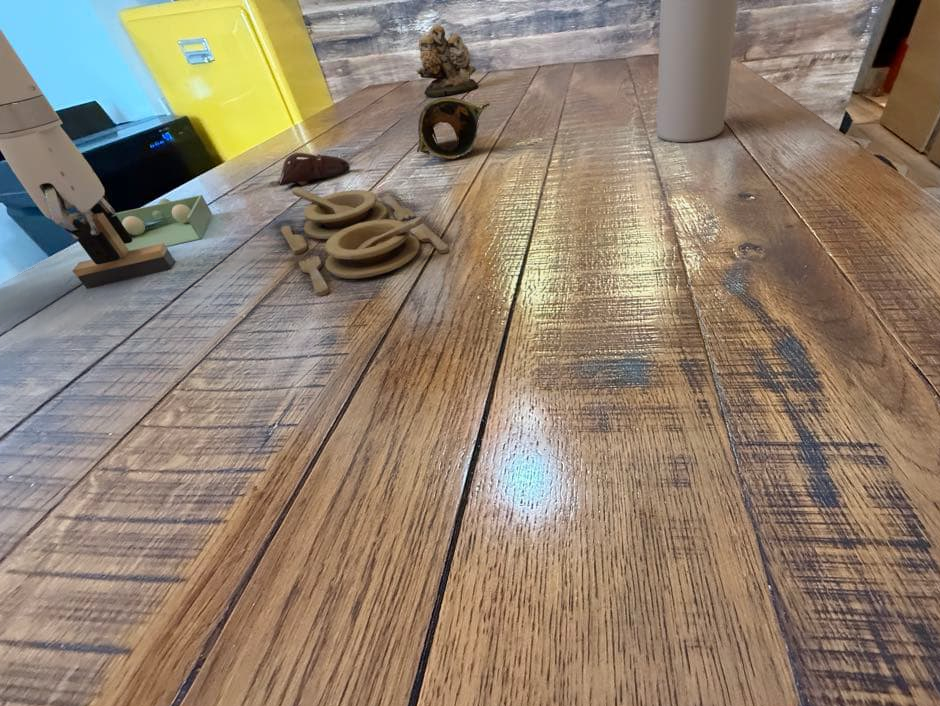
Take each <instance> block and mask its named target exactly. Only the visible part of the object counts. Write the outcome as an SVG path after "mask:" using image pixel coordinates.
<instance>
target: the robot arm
mask: <svg viewBox="0 0 940 706" xmlns="http://www.w3.org/2000/svg"><path fill="white" fill-rule="evenodd" d="M63 124H64V123H63V121H62V119H61V118H60V116H59V115H58V113H57V112H56V110H55V108H53V106H52V104H51V103H50V101H49V100H48V98H47V96H46V95H45V94H44V93H43V91H42V90H41V88H40V87H39V85H38V84H37V82H36V80H35V79H34V77H33V76H32V75H31V73H30V71H29V70H28V68H27V67H26V65H25V64H24V63H23V60H22V59H21V58H20V56H19V55H18V53H17V52H16V51H15V49H14V48H13V45H12V44H11V43H10V41H9V40H8V38H7V37H6V35H5V33H4V32H3V31H2V29H1V28H0V152H1V154H2V155H3V157H4V159H5V161H6V163H7V164H8V165H9V168H11V171H12V172H13V173H14V175H15V176H16V178H17V179H18V181H19V182H20V183H21V185H22V187H23V189H25V191H26V193H27V194H28V195H29V197H30V198H31V199H32V201H33V202H34V203H35V205H36V206H37V208H38V209H39V211H40V212H41V213H42V214H43V215H44V217H46V218H47V219H49V220H52V221H53V223H55V224H56V225H57V226H60V227H61V228H63V229H64V230H65V231H66V232H68V233H69V234H70V235H71V237H72V238H73V239H74V240H77V242H78V243H79V245H80V246H81V245H82V246H81V248H82V249H83V250H84V249H85V250H84V251H85V252H86V254H87V253H88V254H87V256H88V257H89V258H90V257H91V258H90V260H93V261H94V263H95V264H98V265H99V264H104V263H108V262H112V261H117V260H119V258H120V256H119V254H118V253H117V251H116V250H115V249H114V247H113V246H112V244H111V243H110V242H109V240H108V239H107V237H106V236H105V235H104V233H103V232H98V230H97V228H96V226H95V224H94V222H93V220H92V218H91V216H90V215H93V214H98V213H104V215H105V216H106V218H107V219H108V221H109V222H110V224H111V225H112V226H113V228H114V229H115V231H116V232H117V234H118V235H119V237H120V238H121V240H122V241H123V242H124V244H127V243H131V242H132V238H131V236H130V235H129V233H128V232H127V230H126V229H125V227H124V226H123V224H122V223H121V221H120V220H119V218H118V217H117V215H116V213H117V212H116V211H115V209H114V208H113V207H112V206H111V204H110V203H109V198H108V197H107V196H106V195H105V192H106V191H105V187H104V186H103V185H104V184H102V182H101V180H100V178H99V177H98V175H97V174H96V173H95V171H94V169H93V168H92V166H91V165H90V164H89V162H88V161H87V159H86V158H85V156H84V155H83V154H82V152H81V151H80V150H79V148H78V147H77V145H76V144H75V143H74V142H73V141H72V139H71V137H69V135H68V134H67V133H66V131H65V130H64V129H63V128H62V126H61V125H63ZM73 209H75V210H76V211H75V212H68V210H73ZM114 215H116V216H114ZM79 218H82V219H83V220H84V222H85V224H84V223H82V222H81V220H79Z"/></svg>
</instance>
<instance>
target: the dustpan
mask: <svg viewBox="0 0 940 706" xmlns="http://www.w3.org/2000/svg"><path fill="white" fill-rule="evenodd" d="M179 204H182V205H186V206H188V207H189V208H190V209H191V212H190V213H189V215H188V217H187V219H188V221H189V223H180V222H178V221H177V220H176V219H175V218H174V217H173V215H172V209H173V207H174V206H176V205H179ZM115 213H116V215H117V217H118V218H119V220H120V221H121V223H122V222H123V220H124V219H125V218H126V217H129V216H134V217H137V218H139V219H141V220H142V221H143V223H144V224H146V223H151V224H148V225H145V231H144V232H143V233H142V234H141V235H131V234H129V235H130V236H131V238H132V242H131V243H127V244H125V245H126V247H127V248H128V250H129V251H131V250H136V249H140V248H145V247H149V246H153V245H158V244H162V243H164V244H165V246H166V247H167V248H168V247H173V246H176V245H180V244H184V243H185V244H186V243H189V242H194V241H198V240H202V239H203V237H204V235H205V232H206V231H207V229H208V226H209V223H210V222H211V219H212V217H213V212H212V210H211V209H210V207H209V205H208V204H207V201H206V199H205V198H204V195H202V194H199V195H195V196H190V197H185V198H180V199H176V200H170V199H168V198H162V199H160V200H159V202H158V203H157V204H152V205H147V206H144V207H143V206H142V207H138V208H134V209H128V210H124V211H119V212H115ZM116 215H114V216H116ZM152 222H154V223H152ZM80 246H81V247H82V245H81V244H80ZM83 250H84V251H85V249H84V248H83ZM86 254H87V255H88V253H87V252H86ZM89 258H90V259H91V257H90V256H89Z"/></svg>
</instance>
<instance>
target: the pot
mask: <svg viewBox="0 0 940 706" xmlns="http://www.w3.org/2000/svg"><path fill="white" fill-rule="evenodd" d="M490 105H491V102H490V101H486V102H484V103H482V104H476V103H471V102H468V101H464V100H461V99H459V98H456V97H450V96H441V97H437V98H435V99H433V100H431V101H429V102H428V103H427V104H425V106H424V108H423V109H422V111H421V112H420V115H419V119H418V125H417V131H418V146H417V149H416V153H417V154H418V153H422V154H426V155H429V156H430V155H431V154H433V155H435V156H436V157H439V158H443V159H447V160H452V159H456V158H459V157H461V156H465V155H466V154H467V153H469V152H471V150H472V149H473V147H474V146H475V144H476V139H478V132H479V128H480V120H481V115H483V113H484V112H485V110H486V108H488V107H490ZM440 123H442V124H443V123H444V124H448V125H449V126H451V128H452V129H453V131H454V134H455V137H456V140H457V145H456V146H454V147H453V148H452V149H448V148H445V147H443V146H440V145H439V143H438V139H437V136H436V133H435V128H434V127H435V126H436V125H438V124H440Z"/></svg>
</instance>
